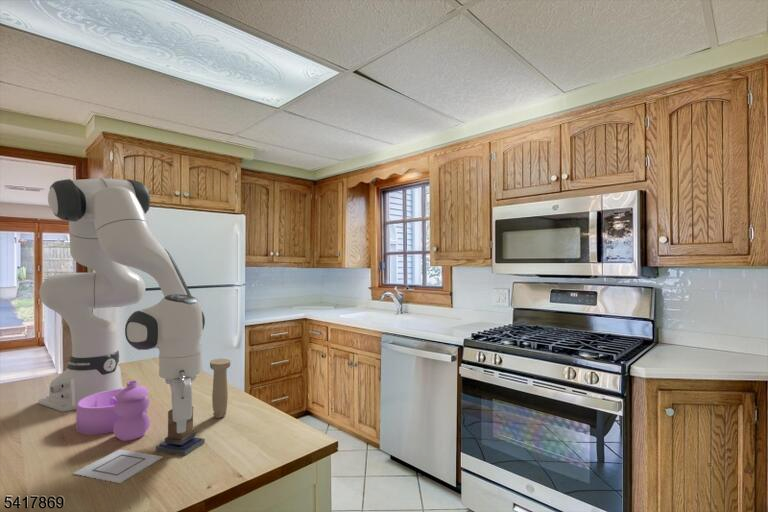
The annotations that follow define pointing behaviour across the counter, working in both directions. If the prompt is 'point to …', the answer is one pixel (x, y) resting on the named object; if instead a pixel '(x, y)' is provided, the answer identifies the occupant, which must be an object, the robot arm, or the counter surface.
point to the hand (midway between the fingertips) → (180, 426)
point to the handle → (220, 386)
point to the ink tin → (180, 446)
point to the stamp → (179, 437)
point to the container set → (115, 412)
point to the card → (118, 466)
